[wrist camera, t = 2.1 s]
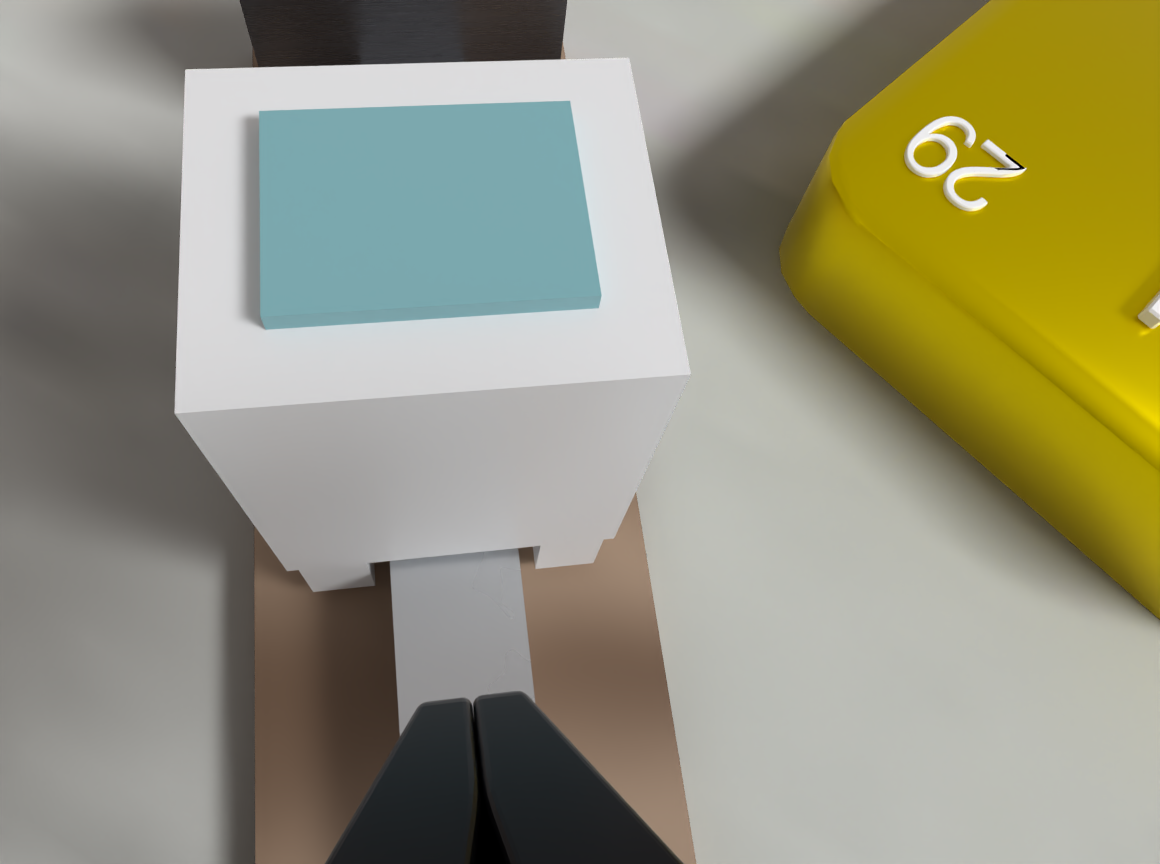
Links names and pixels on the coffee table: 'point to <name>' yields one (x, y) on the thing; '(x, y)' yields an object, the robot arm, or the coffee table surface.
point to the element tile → (1013, 259)
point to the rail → (461, 581)
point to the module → (424, 307)
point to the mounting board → (370, 703)
